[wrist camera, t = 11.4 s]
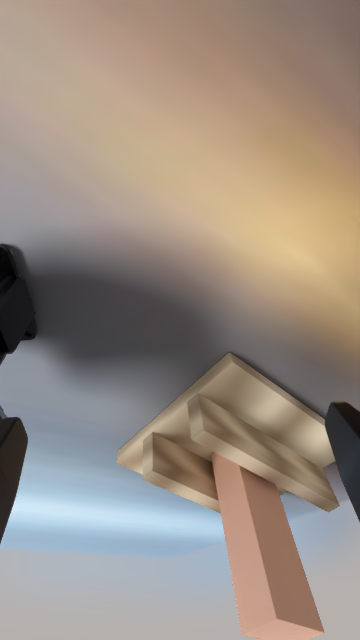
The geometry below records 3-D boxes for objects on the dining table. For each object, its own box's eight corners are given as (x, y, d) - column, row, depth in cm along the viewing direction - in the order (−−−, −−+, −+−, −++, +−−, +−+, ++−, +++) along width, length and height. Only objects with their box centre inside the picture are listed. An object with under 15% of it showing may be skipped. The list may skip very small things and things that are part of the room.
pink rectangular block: (210, 453, 30) (241, 634, 20) (232, 437, 29) (276, 618, 19) (245, 472, 31) (290, 646, 21) (266, 457, 31) (324, 632, 20)
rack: (117, 451, 30) (112, 503, 26) (229, 351, 25) (244, 397, 21) (240, 507, 37) (251, 556, 33) (349, 437, 32) (377, 484, 28)
